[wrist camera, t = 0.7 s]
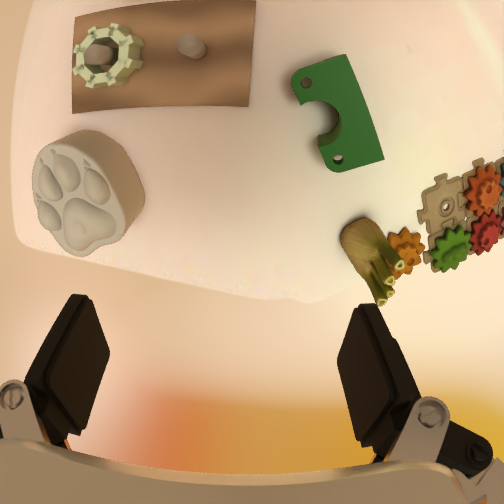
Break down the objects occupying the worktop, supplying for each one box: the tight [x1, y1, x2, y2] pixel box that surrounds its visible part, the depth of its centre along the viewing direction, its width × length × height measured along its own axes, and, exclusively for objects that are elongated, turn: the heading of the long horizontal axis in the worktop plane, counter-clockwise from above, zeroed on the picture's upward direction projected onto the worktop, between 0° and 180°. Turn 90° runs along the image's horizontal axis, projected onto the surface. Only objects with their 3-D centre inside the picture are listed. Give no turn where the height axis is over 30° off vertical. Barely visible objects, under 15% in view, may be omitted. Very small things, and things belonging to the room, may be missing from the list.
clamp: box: [291, 54, 385, 173], centre depth 29 cm, size 12×6×9 cm, turn 19°
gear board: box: [72, 0, 256, 114], centre depth 24 cm, size 12×20×7 cm, turn 86°
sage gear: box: [72, 23, 144, 88], centre depth 24 cm, size 7×7×4 cm
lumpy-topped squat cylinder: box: [32, 130, 145, 257], centre depth 30 cm, size 10×13×9 cm
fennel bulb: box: [341, 218, 405, 306], centre depth 34 cm, size 6×5×12 cm
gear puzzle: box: [385, 157, 504, 280], centre depth 37 cm, size 31×16×4 cm, turn 114°
